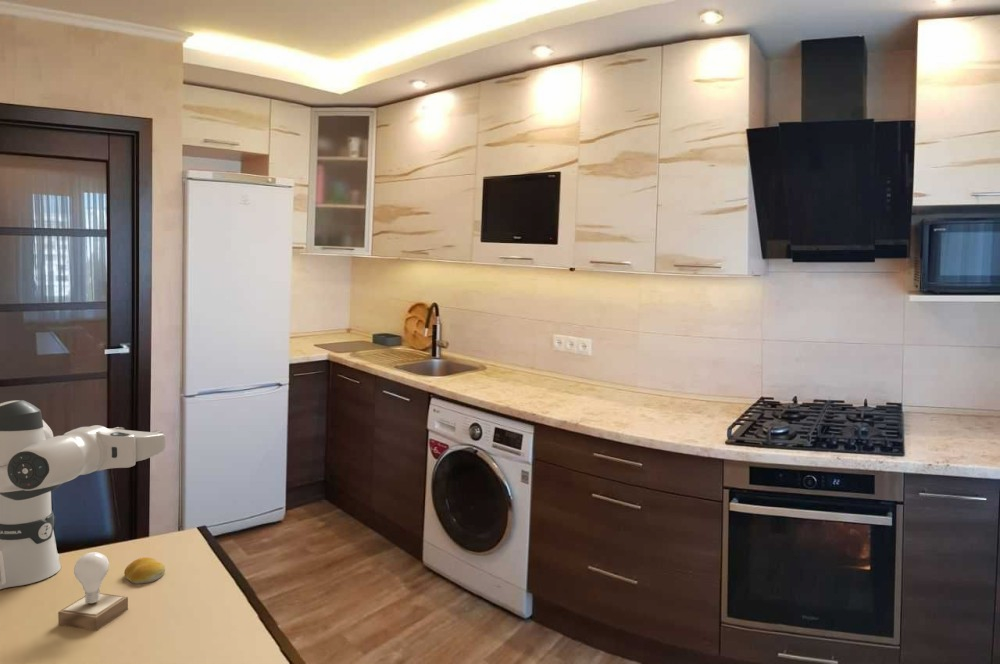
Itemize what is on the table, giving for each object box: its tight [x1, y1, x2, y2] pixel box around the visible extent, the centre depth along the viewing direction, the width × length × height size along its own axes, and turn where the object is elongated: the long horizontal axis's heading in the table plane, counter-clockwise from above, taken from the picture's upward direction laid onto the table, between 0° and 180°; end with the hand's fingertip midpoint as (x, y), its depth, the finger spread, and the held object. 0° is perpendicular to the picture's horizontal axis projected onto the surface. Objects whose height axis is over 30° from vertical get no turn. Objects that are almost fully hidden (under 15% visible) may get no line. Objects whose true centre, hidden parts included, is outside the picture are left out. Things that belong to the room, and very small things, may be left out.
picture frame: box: [57, 592, 129, 631], centre depth 146 cm, size 9×9×3 cm
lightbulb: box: [73, 551, 110, 604], centre depth 145 cm, size 6×6×11 cm
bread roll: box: [123, 557, 166, 584], centre depth 165 cm, size 8×9×4 cm
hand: (140, 432), depth 151 cm, fingers open, 8 cm apart
